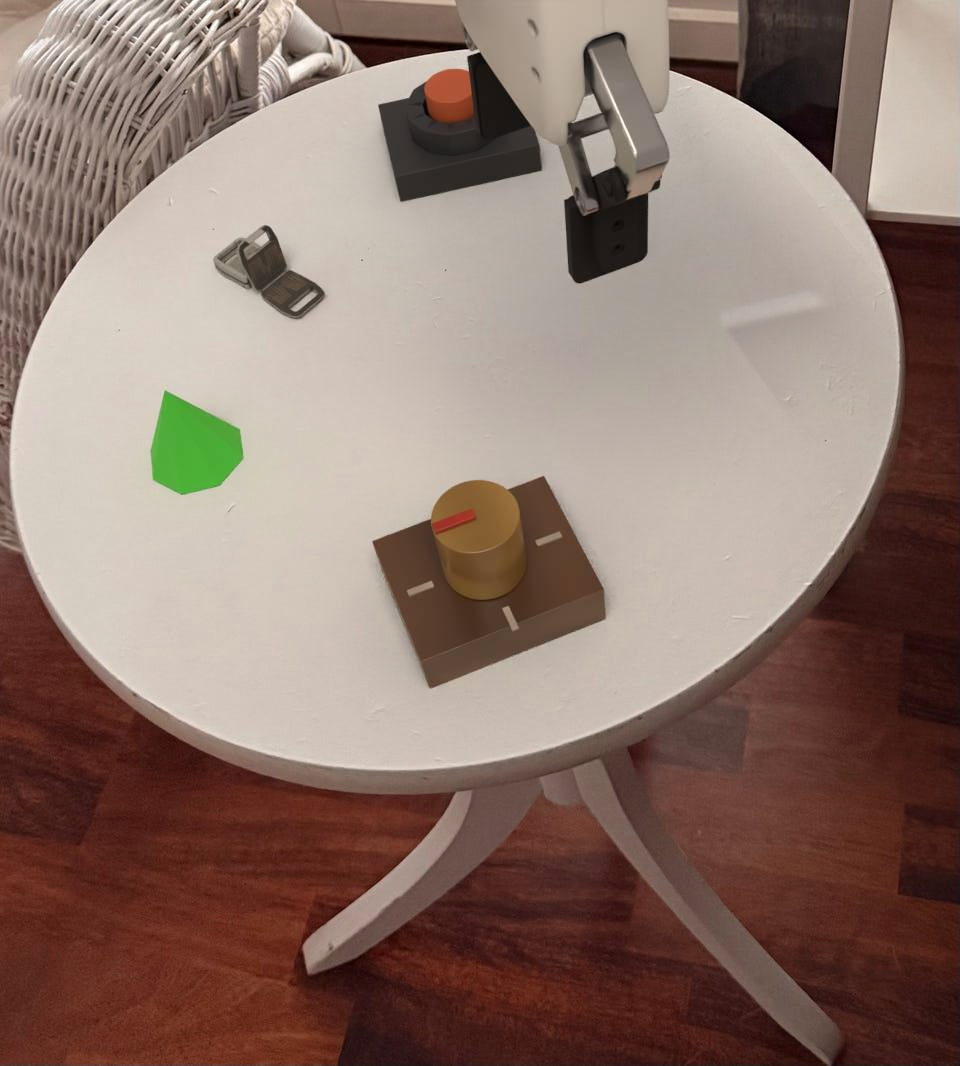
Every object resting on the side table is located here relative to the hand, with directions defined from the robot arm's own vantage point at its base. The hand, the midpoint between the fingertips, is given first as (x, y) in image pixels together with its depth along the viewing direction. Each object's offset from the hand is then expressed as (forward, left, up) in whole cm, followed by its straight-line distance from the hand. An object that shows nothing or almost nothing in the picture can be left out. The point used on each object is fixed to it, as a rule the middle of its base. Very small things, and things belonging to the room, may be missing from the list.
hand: (558, 194), depth 52 cm
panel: (+7, +4, -22) cm, 24 cm away
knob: (+7, +4, -19) cm, 21 cm away
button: (-4, -31, -19) cm, 37 cm away
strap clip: (+12, -25, -22) cm, 35 cm away
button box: (-4, -31, -22) cm, 39 cm away
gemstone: (+20, -13, -22) cm, 33 cm away
